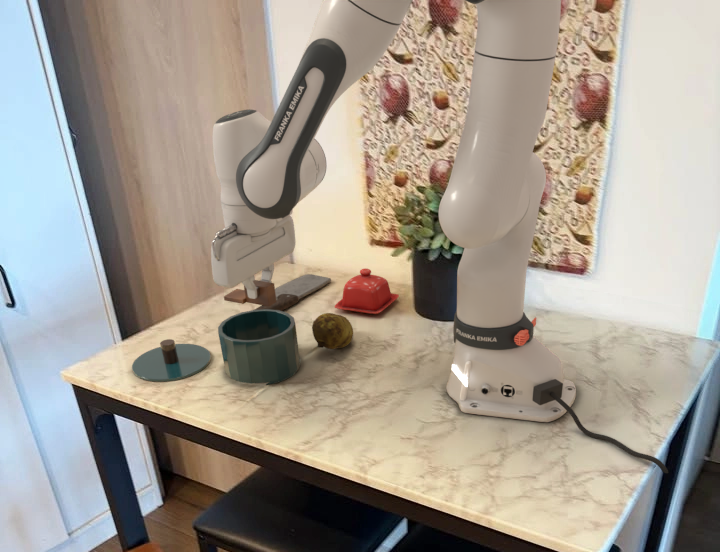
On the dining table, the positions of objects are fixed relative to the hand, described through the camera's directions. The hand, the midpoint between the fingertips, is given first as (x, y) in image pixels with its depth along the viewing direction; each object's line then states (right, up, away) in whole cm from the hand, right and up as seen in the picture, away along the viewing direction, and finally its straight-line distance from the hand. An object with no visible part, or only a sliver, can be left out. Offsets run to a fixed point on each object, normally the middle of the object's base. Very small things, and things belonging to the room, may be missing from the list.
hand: (260, 293), depth 136 cm
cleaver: (0, +8, +38) cm, 38 cm away
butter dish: (+20, +5, +32) cm, 38 cm away
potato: (+13, -7, +16) cm, 22 cm away
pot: (-1, -12, +11) cm, 16 cm away
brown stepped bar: (-2, -1, +2) cm, 3 cm away
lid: (-19, -10, +13) cm, 26 cm away
